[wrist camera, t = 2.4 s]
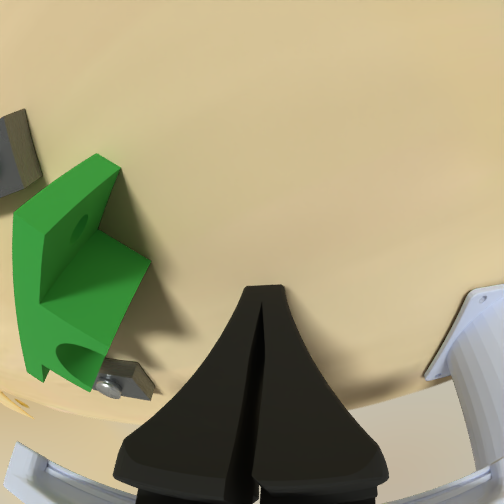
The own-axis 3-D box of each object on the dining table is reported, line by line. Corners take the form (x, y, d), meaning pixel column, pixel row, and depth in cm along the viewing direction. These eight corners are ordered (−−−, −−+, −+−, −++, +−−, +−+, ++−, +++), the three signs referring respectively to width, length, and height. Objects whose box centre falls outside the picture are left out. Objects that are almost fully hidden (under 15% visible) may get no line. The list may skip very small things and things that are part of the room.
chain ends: (24, 108, 7) (-8, 121, 6) (154, 386, 17) (148, 408, 16) (-28, 145, 8) (-53, 159, 6) (98, 377, 18) (91, 396, 16)
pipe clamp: (110, 343, 15) (84, 406, 12) (59, 313, 14) (26, 372, 11) (185, 202, 10) (134, 297, 6) (99, 150, 9) (9, 215, 5)
